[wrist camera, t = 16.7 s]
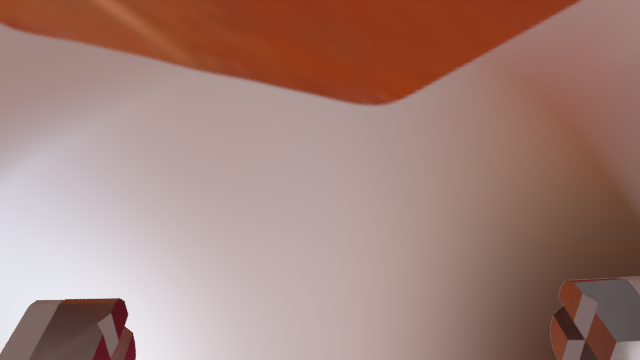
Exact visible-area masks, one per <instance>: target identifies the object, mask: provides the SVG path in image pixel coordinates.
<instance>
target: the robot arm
mask: <svg viewBox="0 0 640 360" xmlns="http://www.w3.org/2000/svg"><path fill="white" fill-rule="evenodd" d="M558 297H559V299H560V301H561V302H562V303H563V306H562V307H561V308H560V309H559V310H558V311H557V312H556V313H555V314H553V318H552V322H551V326H550V333H551V344H552V346H553V350H554V353H555V355H556V357H557V359H558V360H640V276H635V277H620V278H608V279H587V280H586V279H585V280H566V281H565V283H564V284H563V285H562V286H561V289H560V292H559V295H558ZM127 317H128V312H127V308H126V305H125V301H123V300H122V299H120V298H116V299H65V300H37V301H36V302H34V303H32V304H31V305H30V306H29V307H28V309H27V310H26V312H25V314H24V316H23V317H22V319H21V320H20V322H19V324H18V325H17V327H16V329H15V331H14V332H13V334H12V335H11V337H10V339H9V341H8V342H7V344H6V345H5V347H4V349H3V350H2V352H1V354H0V360H135V359H136V349H135V340H134V336H133V333H132V332H131V331H130V330H129V329H127V328H126V327H125V323H126V320H127Z"/></svg>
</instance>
